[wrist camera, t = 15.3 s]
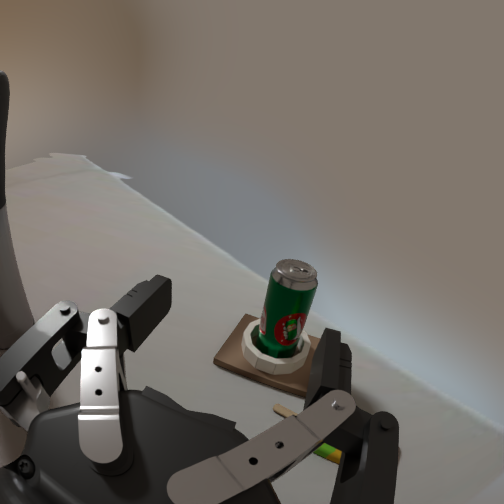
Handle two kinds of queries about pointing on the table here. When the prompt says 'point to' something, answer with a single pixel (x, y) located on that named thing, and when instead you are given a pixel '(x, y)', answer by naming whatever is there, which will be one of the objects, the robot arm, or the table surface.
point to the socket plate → (267, 359)
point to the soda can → (286, 308)
